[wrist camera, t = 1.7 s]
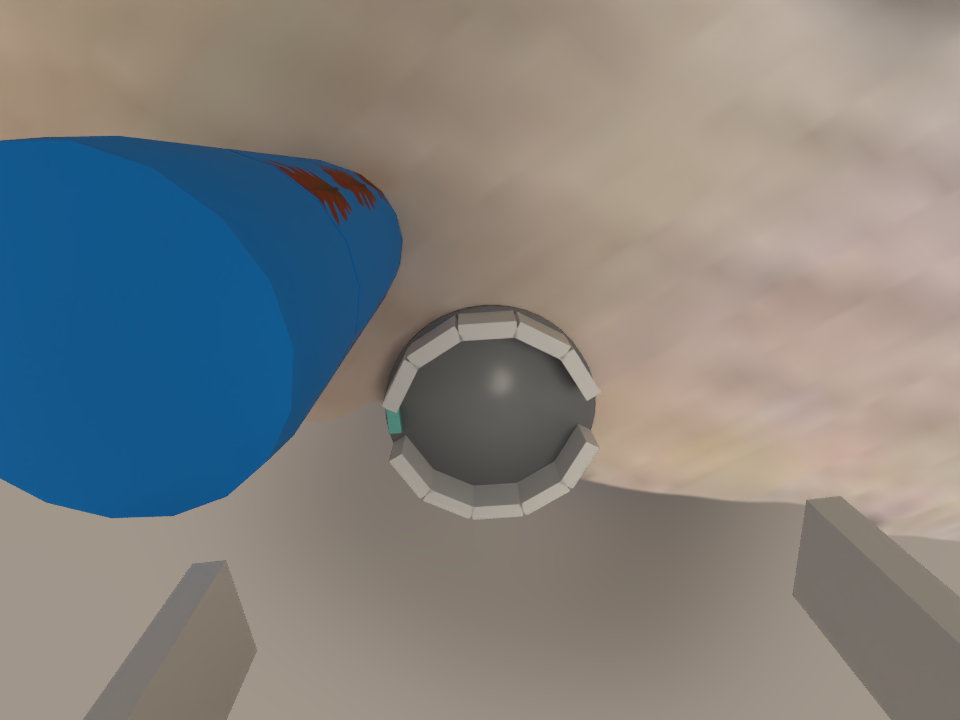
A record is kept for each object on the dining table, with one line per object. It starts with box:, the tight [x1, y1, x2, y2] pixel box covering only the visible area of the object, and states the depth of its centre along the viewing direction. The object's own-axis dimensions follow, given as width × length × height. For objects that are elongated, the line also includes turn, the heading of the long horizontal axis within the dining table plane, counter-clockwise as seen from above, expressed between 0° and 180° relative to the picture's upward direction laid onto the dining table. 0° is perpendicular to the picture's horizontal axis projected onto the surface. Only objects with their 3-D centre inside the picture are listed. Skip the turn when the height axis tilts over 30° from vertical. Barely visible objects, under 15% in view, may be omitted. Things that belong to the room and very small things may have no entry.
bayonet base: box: [382, 305, 601, 520], centre depth 40 cm, size 17×17×4 cm
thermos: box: [0, 136, 402, 518], centre depth 25 cm, size 11×11×25 cm
